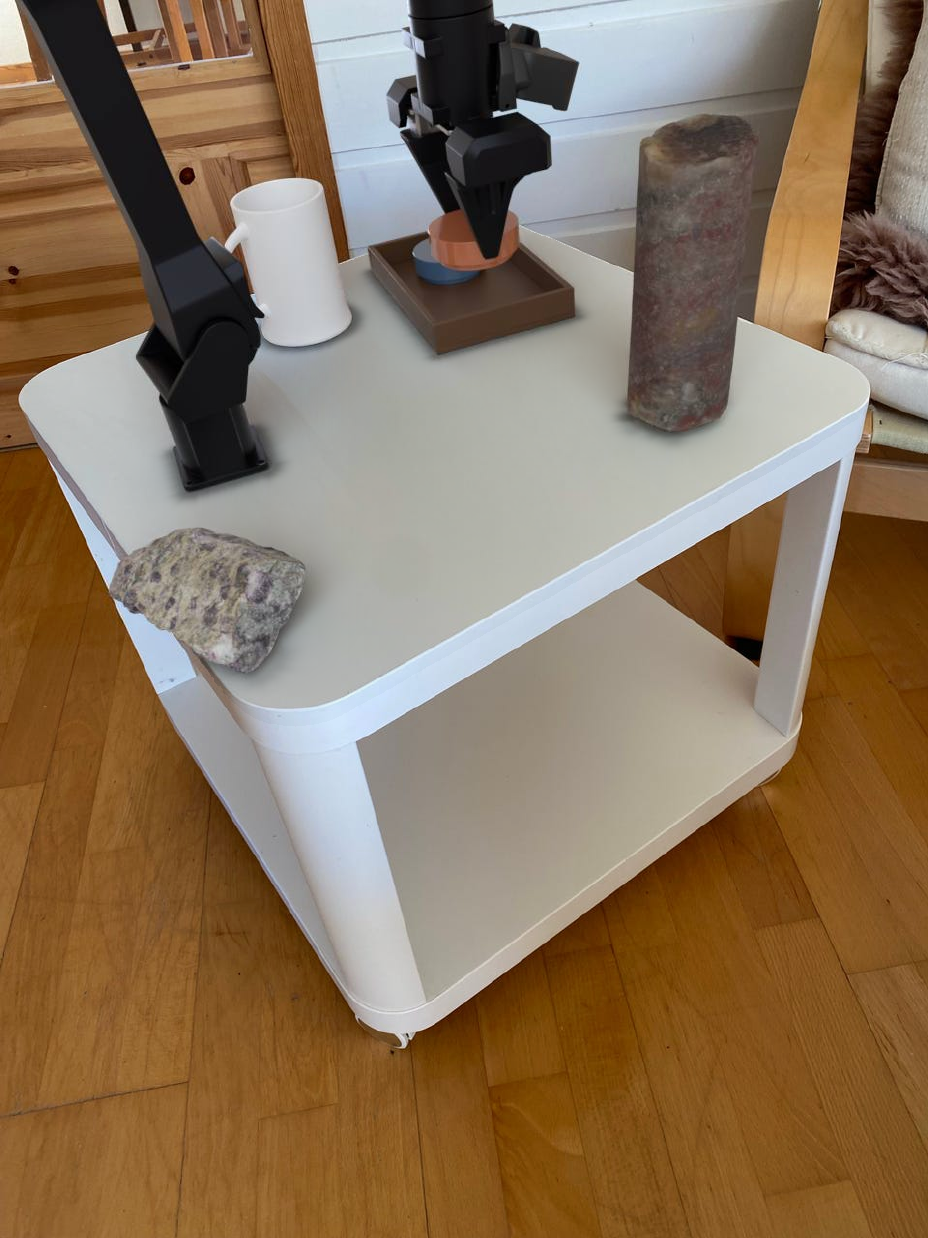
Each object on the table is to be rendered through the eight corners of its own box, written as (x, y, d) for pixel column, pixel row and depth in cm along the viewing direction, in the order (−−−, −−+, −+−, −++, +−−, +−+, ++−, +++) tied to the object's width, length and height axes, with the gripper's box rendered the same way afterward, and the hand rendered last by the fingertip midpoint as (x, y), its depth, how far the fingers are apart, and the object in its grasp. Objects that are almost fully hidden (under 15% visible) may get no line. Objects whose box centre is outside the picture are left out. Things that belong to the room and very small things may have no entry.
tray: (575, 316, 85) (574, 287, 83) (437, 354, 82) (433, 325, 80) (491, 241, 99) (489, 215, 97) (371, 272, 96) (366, 245, 94)
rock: (266, 690, 54) (338, 561, 60) (210, 625, 50) (291, 495, 56) (114, 680, 61) (191, 565, 66) (54, 623, 57) (140, 506, 62)
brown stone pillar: (750, 417, 70) (785, 126, 56) (677, 456, 67) (694, 160, 54) (677, 380, 75) (693, 103, 61) (606, 414, 72) (606, 134, 59)
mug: (264, 371, 83) (227, 235, 75) (215, 343, 88) (175, 212, 80) (370, 320, 88) (345, 187, 80) (318, 296, 93) (290, 169, 85)
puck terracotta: (534, 259, 72) (532, 227, 71) (449, 281, 71) (445, 250, 70) (501, 229, 77) (498, 199, 76) (420, 249, 76) (416, 219, 74)
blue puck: (497, 275, 91) (495, 250, 90) (429, 293, 90) (426, 268, 88) (471, 250, 96) (469, 227, 95) (406, 267, 95) (403, 243, 93)
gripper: (624, 7, 58) (622, 258, 68) (510, -34, 71) (524, 182, 82) (453, 44, 56) (479, 296, 66) (368, -5, 69) (402, 212, 80)
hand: (474, 241), depth 74 cm, fingers closed on puck terracotta, 7 cm apart
